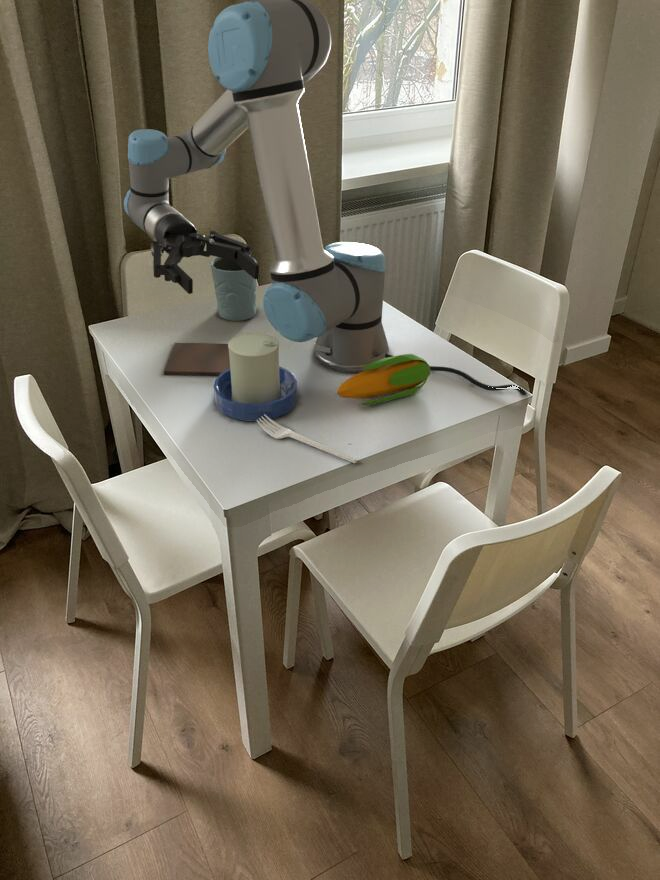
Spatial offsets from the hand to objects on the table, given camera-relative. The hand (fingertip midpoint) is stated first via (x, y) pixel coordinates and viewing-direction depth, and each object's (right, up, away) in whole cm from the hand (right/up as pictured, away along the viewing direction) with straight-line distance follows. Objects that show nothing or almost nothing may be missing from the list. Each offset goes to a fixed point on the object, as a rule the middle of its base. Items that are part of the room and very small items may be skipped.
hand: (224, 279), depth 135 cm
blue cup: (-2, 0, +35) cm, 35 cm away
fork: (+15, -30, -6) cm, 34 cm away
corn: (+29, -21, +7) cm, 37 cm away
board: (-5, -13, +17) cm, 22 cm away
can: (+5, -21, +5) cm, 23 cm away
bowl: (+5, -22, +5) cm, 23 cm away
